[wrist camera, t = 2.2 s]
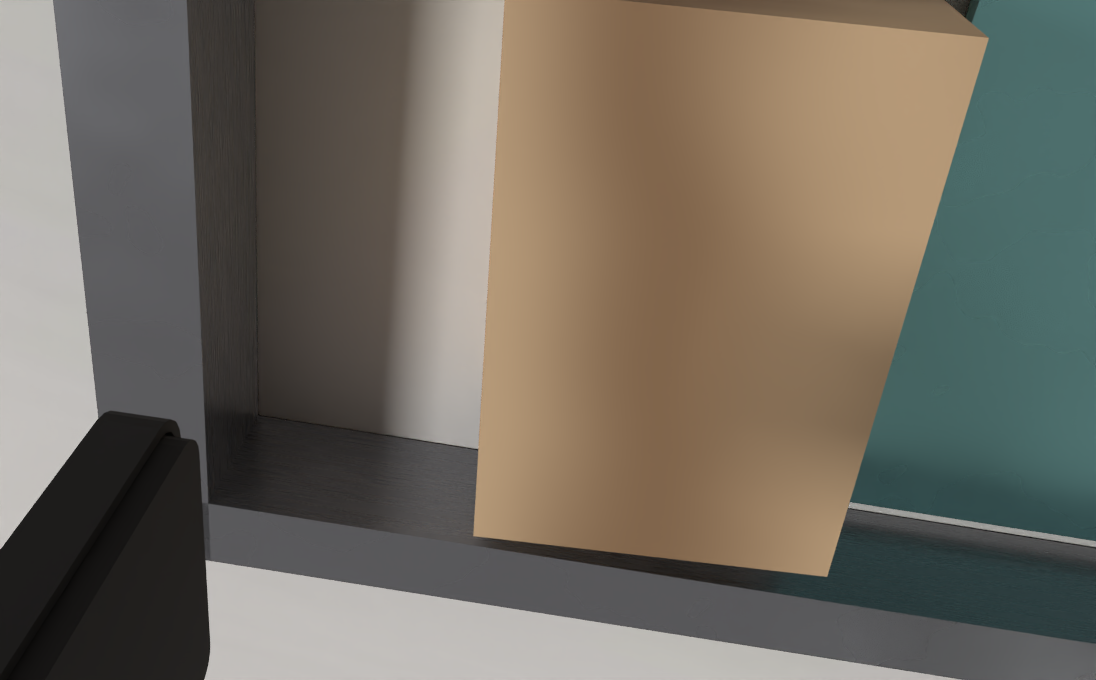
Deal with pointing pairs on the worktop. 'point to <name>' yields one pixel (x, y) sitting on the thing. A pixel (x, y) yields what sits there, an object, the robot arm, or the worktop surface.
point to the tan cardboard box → (705, 264)
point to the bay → (451, 472)
